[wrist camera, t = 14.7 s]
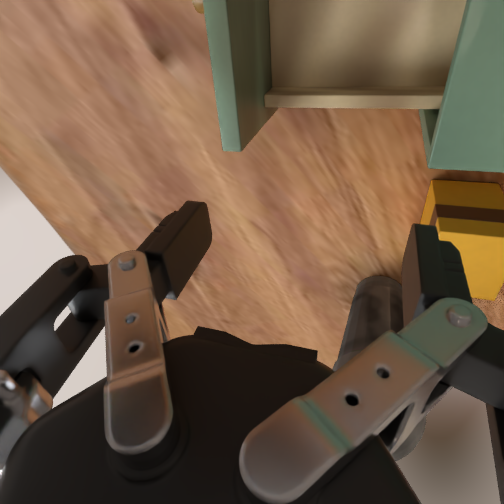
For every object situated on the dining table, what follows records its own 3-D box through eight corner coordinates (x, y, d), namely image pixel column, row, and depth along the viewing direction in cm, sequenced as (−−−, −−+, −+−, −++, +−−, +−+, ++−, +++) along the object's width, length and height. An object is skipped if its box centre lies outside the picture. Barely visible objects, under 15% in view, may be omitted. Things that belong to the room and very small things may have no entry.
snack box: (430, 178, 26) (439, 230, 21) (500, 182, 25) (527, 239, 19) (416, 233, 29) (420, 290, 24) (477, 240, 28) (495, 302, 23)
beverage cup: (327, 282, 35) (277, 504, 21) (392, 253, 31) (388, 511, 16) (368, 326, 37) (350, 557, 23) (435, 304, 33) (467, 576, 18)
